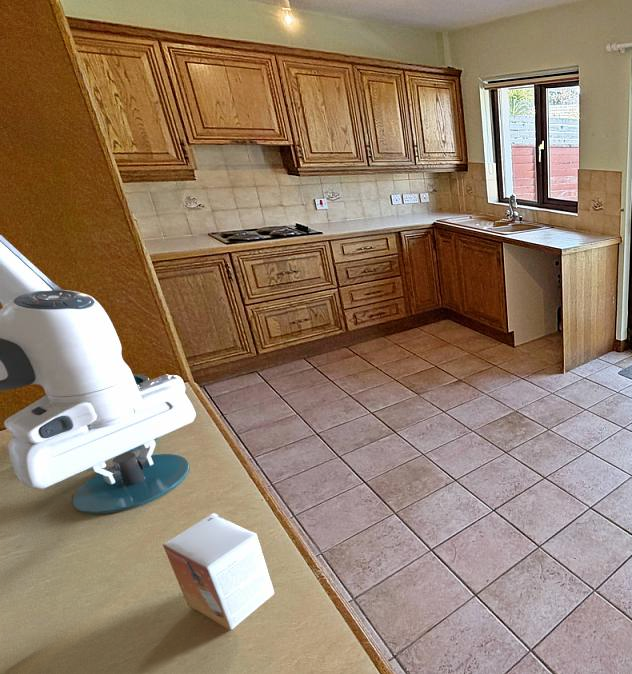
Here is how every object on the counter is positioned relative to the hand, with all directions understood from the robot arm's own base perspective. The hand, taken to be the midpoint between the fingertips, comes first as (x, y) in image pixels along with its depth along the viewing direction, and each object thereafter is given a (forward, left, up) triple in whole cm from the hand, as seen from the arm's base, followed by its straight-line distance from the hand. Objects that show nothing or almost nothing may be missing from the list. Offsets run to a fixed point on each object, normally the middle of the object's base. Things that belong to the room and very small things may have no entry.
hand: (130, 473), depth 75 cm
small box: (+34, -6, -3) cm, 35 cm away
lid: (0, 0, -2) cm, 2 cm away
